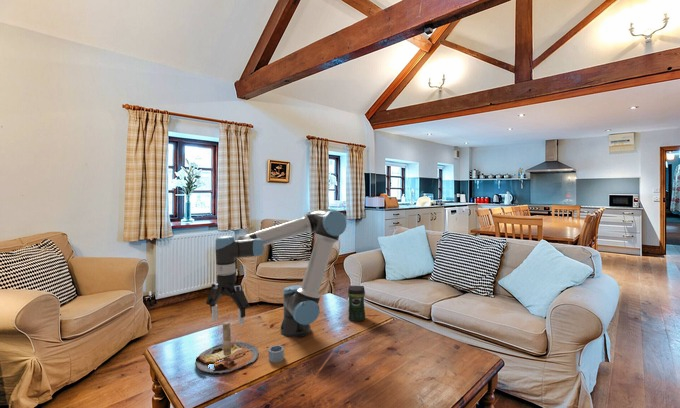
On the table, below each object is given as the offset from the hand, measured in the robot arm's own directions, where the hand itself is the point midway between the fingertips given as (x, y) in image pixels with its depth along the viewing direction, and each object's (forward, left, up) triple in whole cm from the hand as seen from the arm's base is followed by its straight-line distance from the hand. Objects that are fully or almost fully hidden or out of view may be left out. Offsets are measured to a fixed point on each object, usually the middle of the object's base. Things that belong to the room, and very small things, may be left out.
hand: (228, 322), depth 133 cm
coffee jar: (-58, +40, -16) cm, 72 cm away
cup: (-6, +20, -16) cm, 26 cm away
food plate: (+1, 0, -16) cm, 16 cm away
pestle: (0, 0, -13) cm, 13 cm away
